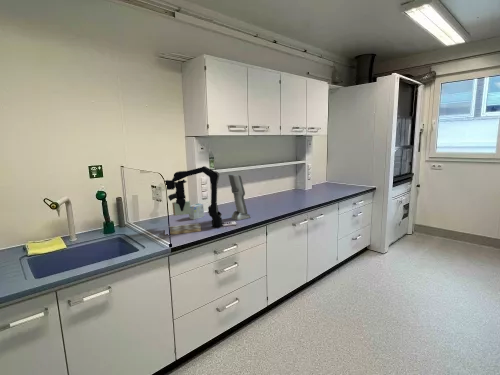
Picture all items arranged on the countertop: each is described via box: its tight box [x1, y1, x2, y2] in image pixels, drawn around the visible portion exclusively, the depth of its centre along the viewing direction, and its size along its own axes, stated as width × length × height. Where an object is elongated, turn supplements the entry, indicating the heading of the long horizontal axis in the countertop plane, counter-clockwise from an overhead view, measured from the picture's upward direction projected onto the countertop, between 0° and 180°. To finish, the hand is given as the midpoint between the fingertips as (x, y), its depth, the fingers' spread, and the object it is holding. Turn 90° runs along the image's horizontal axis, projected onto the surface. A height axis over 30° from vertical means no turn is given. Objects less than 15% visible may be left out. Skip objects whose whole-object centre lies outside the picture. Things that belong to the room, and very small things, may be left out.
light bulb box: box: [188, 203, 205, 220], centre depth 218 cm, size 11×7×11 cm, turn 141°
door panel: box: [172, 200, 191, 216], centre depth 191 cm, size 12×2×9 cm, turn 103°
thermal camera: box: [228, 174, 251, 221], centre depth 210 cm, size 12×13×35 cm
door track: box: [169, 222, 202, 235], centre depth 184 cm, size 24×9×4 cm, turn 104°
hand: (182, 210), depth 192 cm, fingers closed on door panel, 2 cm apart
